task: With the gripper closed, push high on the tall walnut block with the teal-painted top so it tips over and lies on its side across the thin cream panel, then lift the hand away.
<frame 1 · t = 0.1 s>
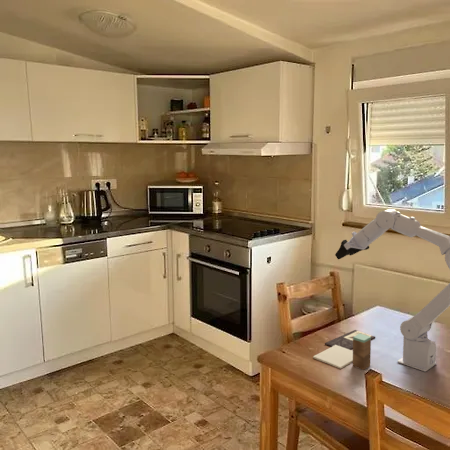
hand: (343, 255, 165), 32 cm above the table, tool tilted 50°, fingers open, 7 cm apart
chocolate bar: (350, 342, 168), on the table
thin cream panel: (338, 357, 155), on the table
walnut block: (361, 365, 149), on the table
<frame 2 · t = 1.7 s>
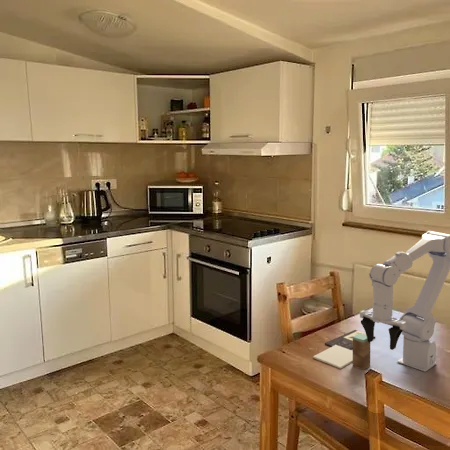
hand: (381, 344, 142), 9 cm above the table, tool pointing down, fingers open, 7 cm apart
nothing on the table moved.
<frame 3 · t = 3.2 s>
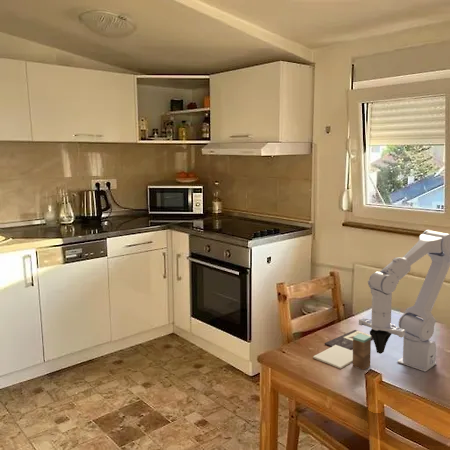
hand: (380, 352, 143), 7 cm above the table, tool pointing down, fingers closed
nothing on the table moved.
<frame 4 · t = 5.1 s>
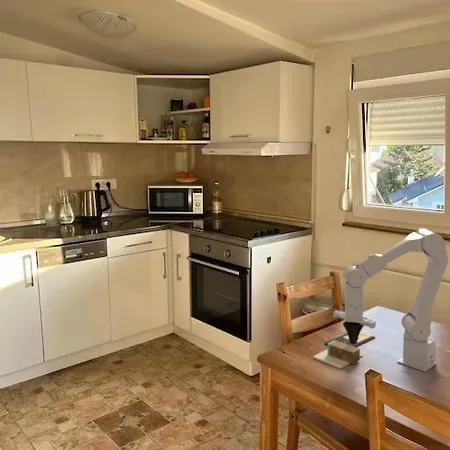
hand: (353, 343, 150), 7 cm above the table, tool pointing down, fingers closed
walnut block: (356, 356, 150), point 3 cm above the table, tilted 90°, touching thin cream panel
everything else where it was.
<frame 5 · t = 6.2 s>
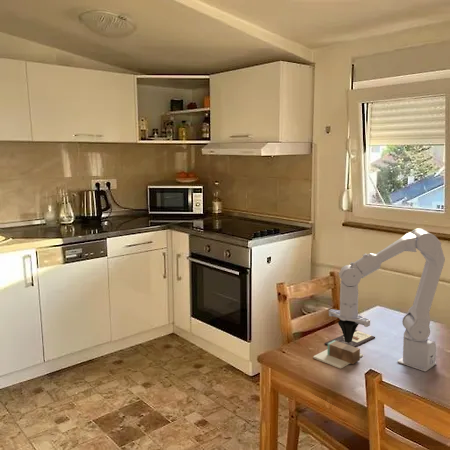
hand: (348, 341, 151), 7 cm above the table, tool pointing down, fingers closed
nothing on the table moved.
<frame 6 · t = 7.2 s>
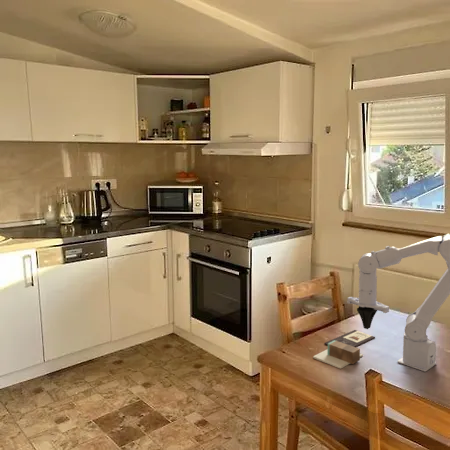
hand: (366, 327, 154), 10 cm above the table, tool pointing down, fingers closed
nothing on the table moved.
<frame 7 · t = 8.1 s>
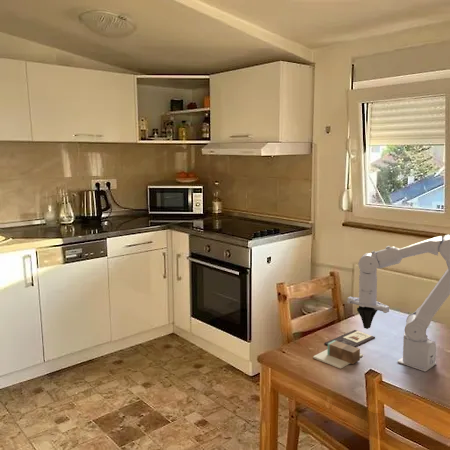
hand: (367, 327, 154), 10 cm above the table, tool pointing down, fingers closed
nothing on the table moved.
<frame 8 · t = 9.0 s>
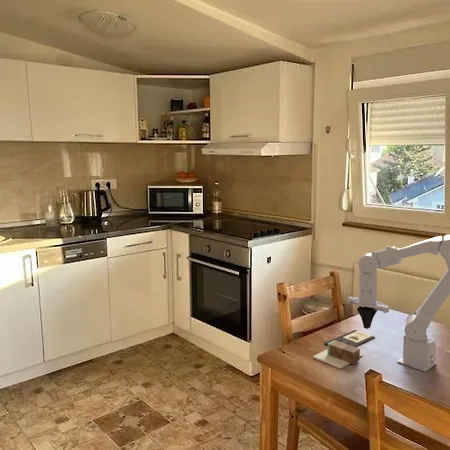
hand: (367, 327, 154), 10 cm above the table, tool pointing down, fingers closed
nothing on the table moved.
at the end: walnut block tilted 90°; walnut block touching thin cream panel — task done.
